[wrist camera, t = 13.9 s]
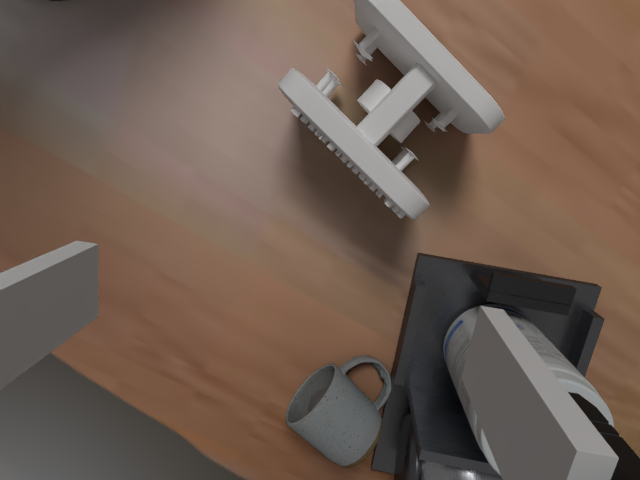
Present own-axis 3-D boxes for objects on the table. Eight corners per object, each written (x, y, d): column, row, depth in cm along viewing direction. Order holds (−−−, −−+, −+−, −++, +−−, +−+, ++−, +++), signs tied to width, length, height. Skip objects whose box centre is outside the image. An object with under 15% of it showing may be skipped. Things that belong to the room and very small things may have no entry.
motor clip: (420, 243, 45) (439, 280, 33) (599, 274, 44) (683, 324, 32) (371, 462, 51) (373, 557, 40) (526, 494, 50) (573, 600, 39)
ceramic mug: (340, 438, 51) (337, 490, 43) (289, 392, 50) (278, 436, 43) (407, 382, 49) (416, 426, 41) (355, 333, 48) (355, 369, 40)
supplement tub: (475, 400, 47) (523, 515, 33) (423, 334, 46) (449, 424, 32) (555, 352, 45) (645, 453, 31) (503, 281, 44) (571, 353, 29)
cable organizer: (480, 127, 42) (523, 125, 30) (398, 206, 44) (411, 230, 33) (368, 11, 40) (369, -37, 29) (290, 99, 43) (264, 86, 31)
